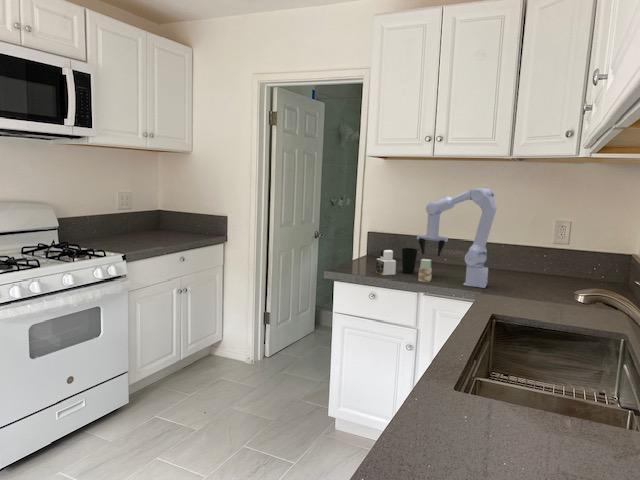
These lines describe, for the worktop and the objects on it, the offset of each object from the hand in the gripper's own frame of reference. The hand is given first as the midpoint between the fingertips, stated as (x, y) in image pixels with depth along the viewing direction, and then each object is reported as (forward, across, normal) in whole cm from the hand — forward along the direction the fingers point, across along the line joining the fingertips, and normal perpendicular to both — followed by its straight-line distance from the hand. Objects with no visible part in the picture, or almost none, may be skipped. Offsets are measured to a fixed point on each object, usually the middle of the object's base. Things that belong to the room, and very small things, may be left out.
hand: (430, 254), depth 233 cm
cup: (+11, +11, -1) cm, 15 cm away
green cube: (+5, 0, +12) cm, 13 cm away
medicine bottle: (+11, +20, +8) cm, 24 cm away
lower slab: (+11, -1, +12) cm, 16 cm away
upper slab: (+8, 0, +12) cm, 14 cm away
